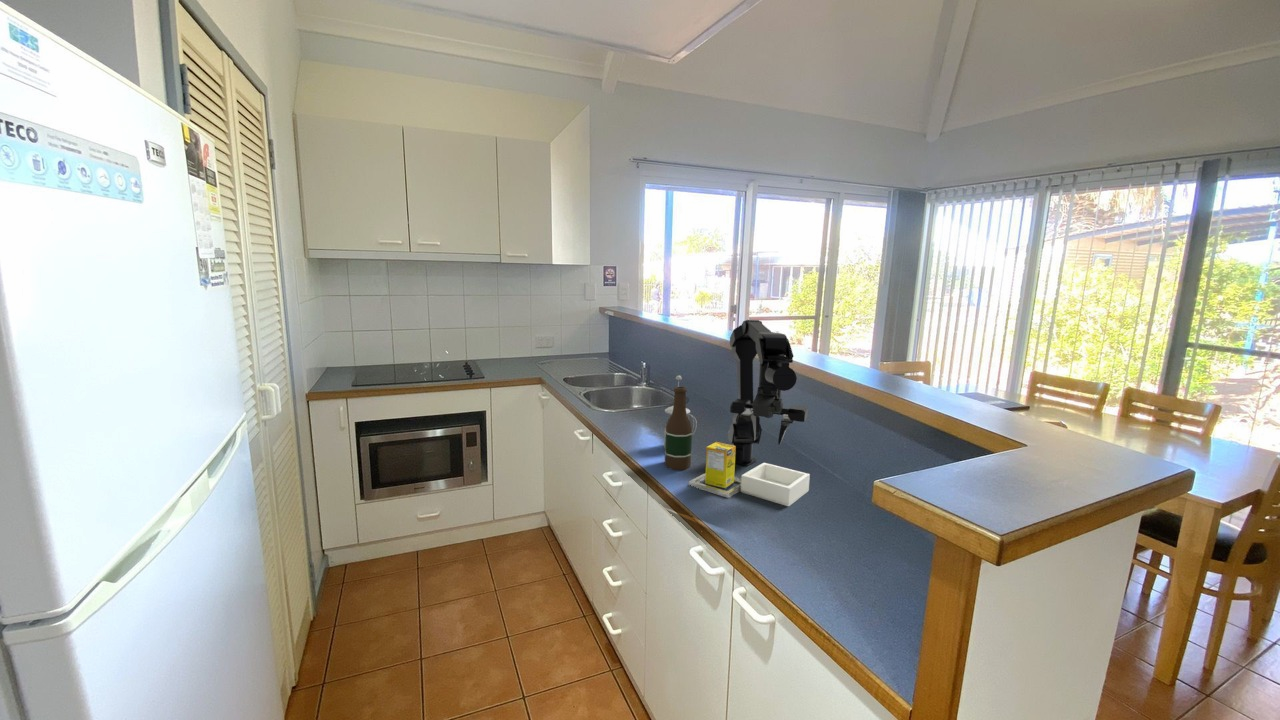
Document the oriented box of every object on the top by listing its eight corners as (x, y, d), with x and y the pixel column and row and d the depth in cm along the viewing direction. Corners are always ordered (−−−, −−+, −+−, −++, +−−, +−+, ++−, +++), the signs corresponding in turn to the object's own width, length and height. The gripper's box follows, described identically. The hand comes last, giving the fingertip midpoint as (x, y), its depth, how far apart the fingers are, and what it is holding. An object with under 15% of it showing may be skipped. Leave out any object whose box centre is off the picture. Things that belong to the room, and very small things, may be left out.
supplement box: (734, 484, 137) (736, 445, 136) (724, 491, 132) (726, 451, 131) (714, 479, 140) (716, 441, 139) (704, 486, 135) (706, 446, 134)
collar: (712, 473, 145) (712, 469, 145) (750, 484, 137) (750, 480, 137) (688, 485, 136) (689, 481, 135) (728, 498, 128) (728, 493, 128)
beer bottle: (672, 474, 143) (675, 391, 140) (659, 465, 150) (661, 385, 147) (695, 470, 147) (699, 389, 144) (681, 461, 154) (684, 384, 150)
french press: (655, 449, 165) (657, 373, 161) (687, 445, 170) (689, 372, 166) (669, 459, 156) (671, 379, 153) (702, 454, 161) (705, 377, 157)
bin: (763, 478, 142) (763, 462, 141) (808, 490, 134) (809, 474, 133) (740, 492, 132) (741, 475, 131) (788, 506, 124) (789, 488, 123)
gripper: (725, 384, 126) (722, 444, 128) (803, 392, 118) (798, 457, 120) (737, 377, 136) (734, 434, 138) (809, 384, 128) (805, 444, 130)
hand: (766, 442), depth 132 cm, fingers open, 6 cm apart
